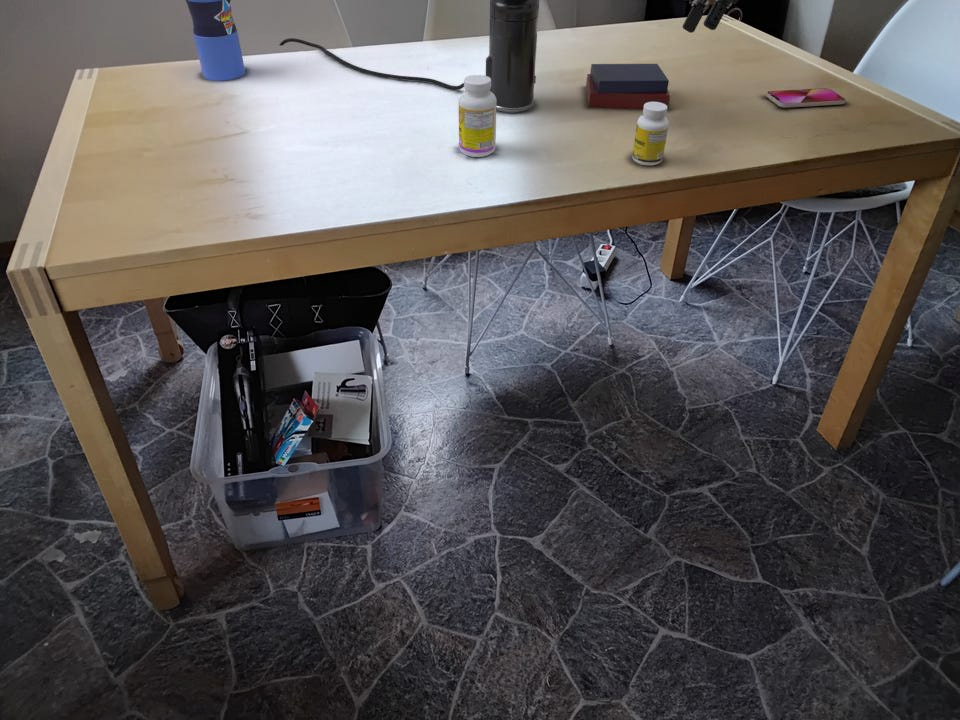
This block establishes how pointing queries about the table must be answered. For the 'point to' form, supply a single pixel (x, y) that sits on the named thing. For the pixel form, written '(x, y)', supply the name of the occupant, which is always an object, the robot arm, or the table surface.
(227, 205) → the table surface
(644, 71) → the book stack
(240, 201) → the table surface
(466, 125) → the supplement bottle
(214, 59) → the water bottle
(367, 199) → the table surface
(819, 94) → the smartphone
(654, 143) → the supplement bottle
